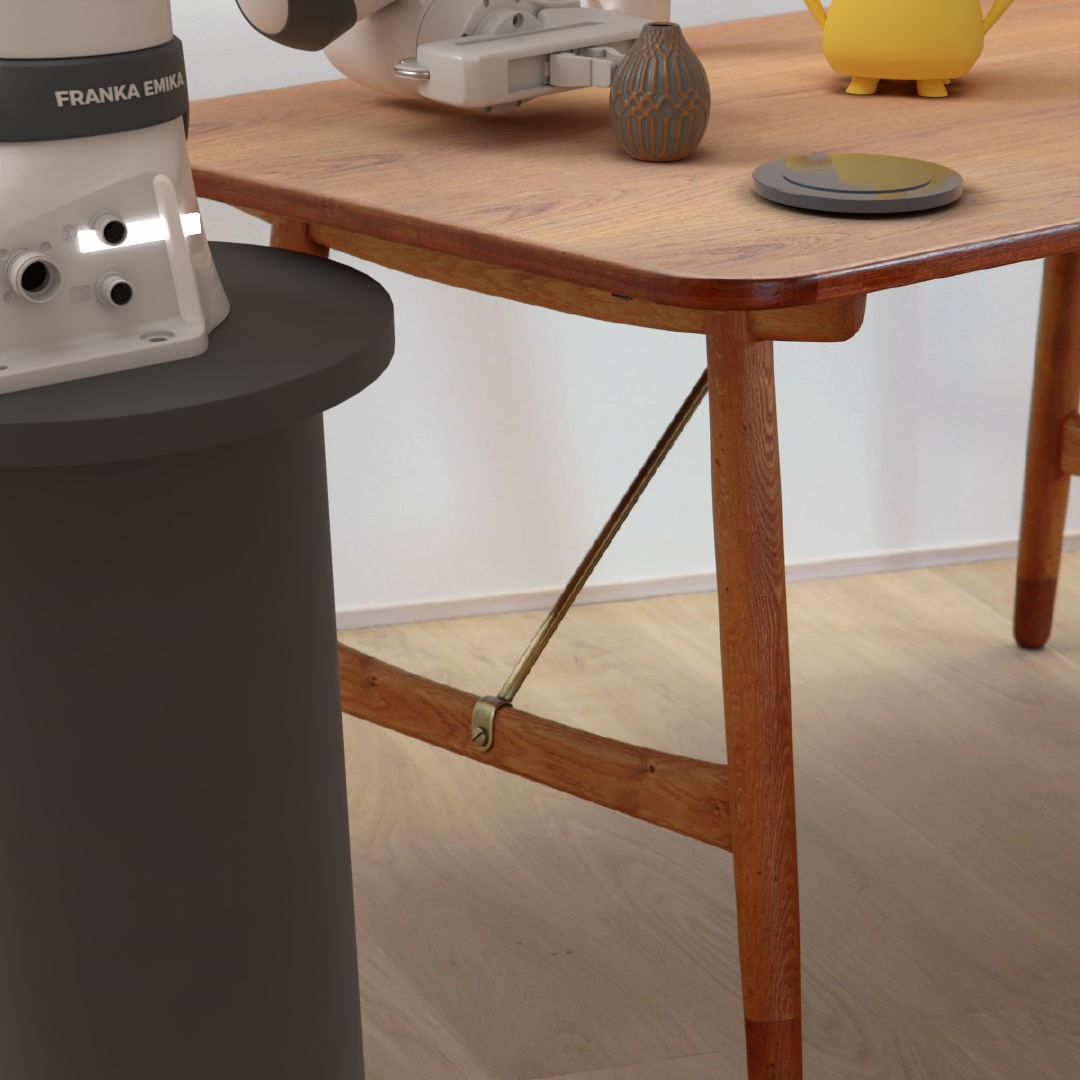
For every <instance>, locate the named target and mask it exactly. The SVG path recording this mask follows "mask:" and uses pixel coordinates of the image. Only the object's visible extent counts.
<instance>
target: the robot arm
mask: <svg viewBox="0 0 1080 1080" xmlns="http://www.w3.org/2000/svg"><path fill="white" fill-rule="evenodd" d="M234 1H235V3H236V5H237V8H238V10H239V11H240V13H241V15H242V16H243V18H244V19H245V21H246V23H248V25H249V26H250V27H252V29H253V30H254V31H256V32H257V33H259V34H260V35H262V36H263V37H265V38H266V39H268V40H270V41H272V42H274V43H277V44H279V45H281V46H283V47H287V48H290V49H294V50H298V51H304V52H311V53H313V52H314V53H315V52H320V51H323V54H324V56H325V57H326V58H327V60H328V62H329V63H330V64H331V65H332V66H333V67H334V68H335V69H336V70H337V71H338V72H339V73H341V74H342V75H343V76H345V77H346V78H348V79H349V80H351V81H353V82H355V83H356V84H358V85H360V86H362V87H365V88H367V89H369V90H372V91H375V92H379V93H382V94H386V95H389V96H394V97H398V98H403V99H409V100H413V101H415V100H416V101H423V100H432V101H434V102H436V103H438V104H441V105H442V106H446V107H451V108H456V109H461V110H467V111H472V112H477V113H482V114H487V115H493V116H494V115H495V116H496V115H497V116H498V115H499V116H500V115H505V114H509V113H511V112H513V111H515V110H516V109H518V108H519V107H520V106H522V104H523V103H527V102H529V101H531V100H534V99H535V98H538V97H543V96H548V95H549V96H550V95H553V94H554V95H555V94H558V93H564V92H570V91H574V90H579V89H586V88H590V87H597V88H603V89H609V88H611V84H612V80H613V77H614V74H615V72H616V69H617V67H618V65H619V64H620V62H621V61H622V59H623V58H624V56H625V55H626V54H627V52H628V51H629V50H630V48H631V47H632V46H633V45H634V43H635V42H636V40H637V39H638V37H639V35H640V33H641V30H642V28H643V26H644V24H646V23H651V22H654V21H652V20H649V19H645V18H640V17H636V16H632V15H627V14H623V13H618V12H613V11H608V10H603V9H596V8H588V7H586V6H585V7H583V6H582V5H581V0H234ZM188 87H189V86H188V79H187V69H186V63H185V53H184V45H183V41H182V39H180V37H178V36H177V35H176V34H174V29H173V17H172V5H171V0H0V395H1V394H6V393H11V392H16V391H21V390H26V389H32V388H37V387H42V386H47V385H52V384H57V383H62V382H68V381H73V380H78V379H83V378H88V377H93V376H99V375H104V374H109V373H114V372H119V371H124V370H129V369H135V368H140V367H145V366H150V365H155V364H160V363H166V362H171V361H176V360H181V359H186V358H191V357H195V356H198V355H201V354H203V353H204V352H205V351H206V350H207V349H208V345H209V339H208V335H209V333H210V332H211V331H212V330H213V329H214V328H215V327H217V326H218V325H219V324H220V323H221V322H223V321H224V320H225V318H226V317H227V316H228V314H229V312H230V303H229V301H228V298H227V296H226V294H225V291H224V289H223V287H222V284H221V282H220V279H219V276H218V273H217V271H216V268H215V265H214V262H213V258H212V255H211V252H210V249H209V246H208V242H207V241H208V238H207V233H206V231H205V226H204V222H203V219H202V215H201V211H200V206H199V202H198V196H197V193H196V188H195V183H194V179H193V173H192V167H191V162H190V161H191V160H190V157H189V156H190V155H189V149H188V144H187V141H188V138H189V129H190V98H189V97H190V96H189V89H188Z"/></svg>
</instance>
